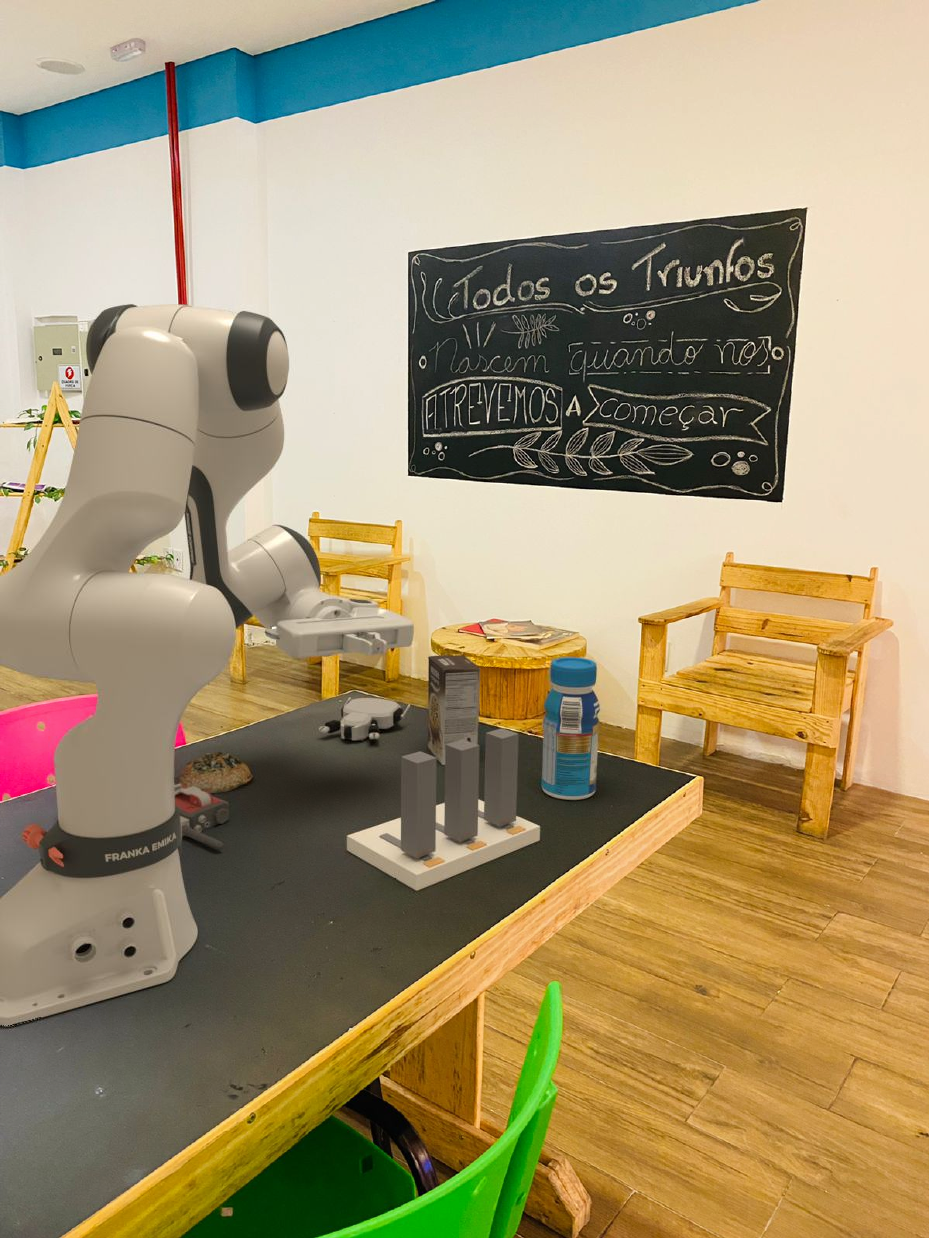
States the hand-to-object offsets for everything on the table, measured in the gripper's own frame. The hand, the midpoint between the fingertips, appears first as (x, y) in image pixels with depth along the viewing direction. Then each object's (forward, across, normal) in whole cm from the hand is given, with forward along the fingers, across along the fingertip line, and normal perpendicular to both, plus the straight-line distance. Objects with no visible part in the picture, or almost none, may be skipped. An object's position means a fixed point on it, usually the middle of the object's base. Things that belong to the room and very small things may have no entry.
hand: (378, 648), depth 124 cm
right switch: (+17, +10, +20) cm, 28 cm away
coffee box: (-11, +25, +24) cm, 36 cm away
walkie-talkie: (-11, -20, +26) cm, 35 cm away
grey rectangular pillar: (+17, +3, +20) cm, 27 cm away
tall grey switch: (+18, -4, +20) cm, 27 cm away
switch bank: (+15, +3, +23) cm, 27 cm away
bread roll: (-24, -11, +27) cm, 38 cm away
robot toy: (-30, +20, +26) cm, 44 cm away
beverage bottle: (+12, +29, +22) cm, 38 cm away
